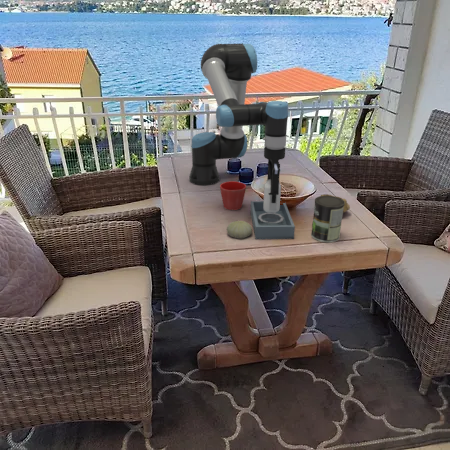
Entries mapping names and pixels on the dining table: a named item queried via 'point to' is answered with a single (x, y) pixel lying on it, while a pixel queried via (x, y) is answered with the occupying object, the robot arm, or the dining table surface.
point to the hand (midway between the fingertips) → (271, 206)
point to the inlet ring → (270, 215)
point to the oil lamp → (346, 205)
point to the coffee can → (327, 218)
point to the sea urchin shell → (239, 229)
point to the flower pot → (232, 194)
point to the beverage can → (267, 197)
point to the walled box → (271, 231)
